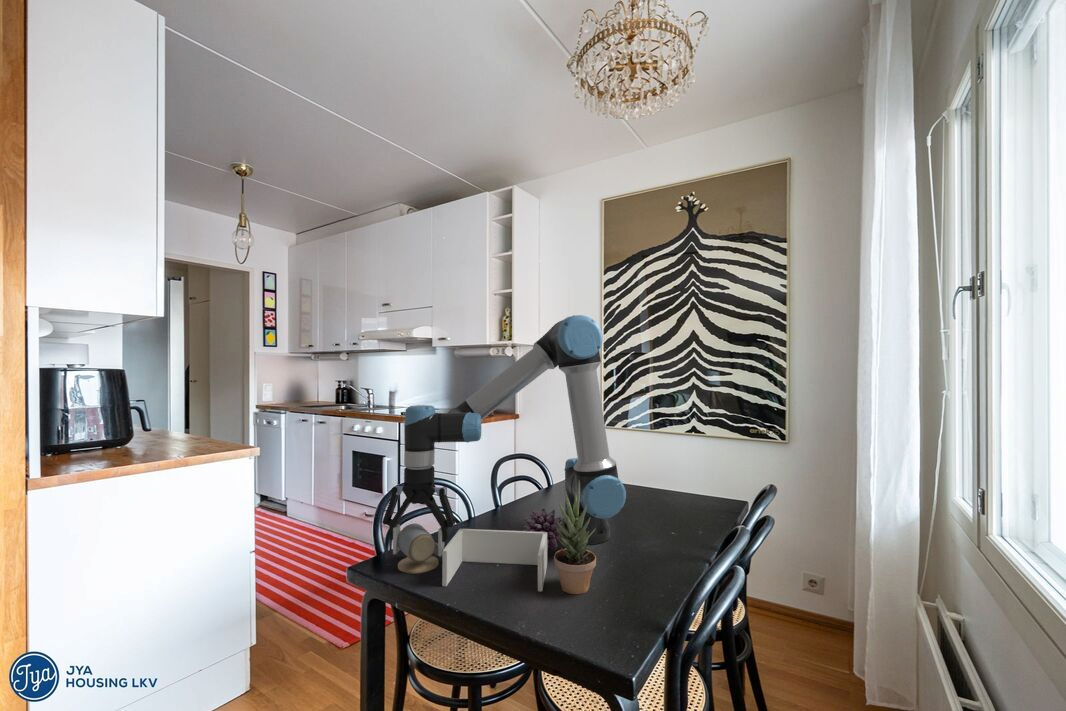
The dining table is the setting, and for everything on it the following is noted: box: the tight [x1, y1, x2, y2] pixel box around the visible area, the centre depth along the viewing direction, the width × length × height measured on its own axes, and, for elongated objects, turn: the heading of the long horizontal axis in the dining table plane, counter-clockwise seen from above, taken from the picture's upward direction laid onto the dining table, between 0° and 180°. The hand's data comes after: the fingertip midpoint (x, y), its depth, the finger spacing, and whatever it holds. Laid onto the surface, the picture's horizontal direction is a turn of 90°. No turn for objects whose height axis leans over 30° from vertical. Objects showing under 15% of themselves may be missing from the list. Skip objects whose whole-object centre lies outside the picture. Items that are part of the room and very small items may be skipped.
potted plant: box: [553, 480, 597, 595], centre depth 106 cm, size 10×10×25 cm
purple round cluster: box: [521, 507, 563, 552], centre depth 127 cm, size 12×12×12 cm
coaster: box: [397, 555, 439, 575], centre depth 118 cm, size 10×10×1 cm
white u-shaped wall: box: [441, 528, 548, 592], centre depth 113 cm, size 23×15×8 cm, turn 84°
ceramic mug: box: [398, 522, 438, 562], centre depth 119 cm, size 11×8×8 cm
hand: (418, 553), depth 118 cm, fingers closed on ceramic mug, 11 cm apart
